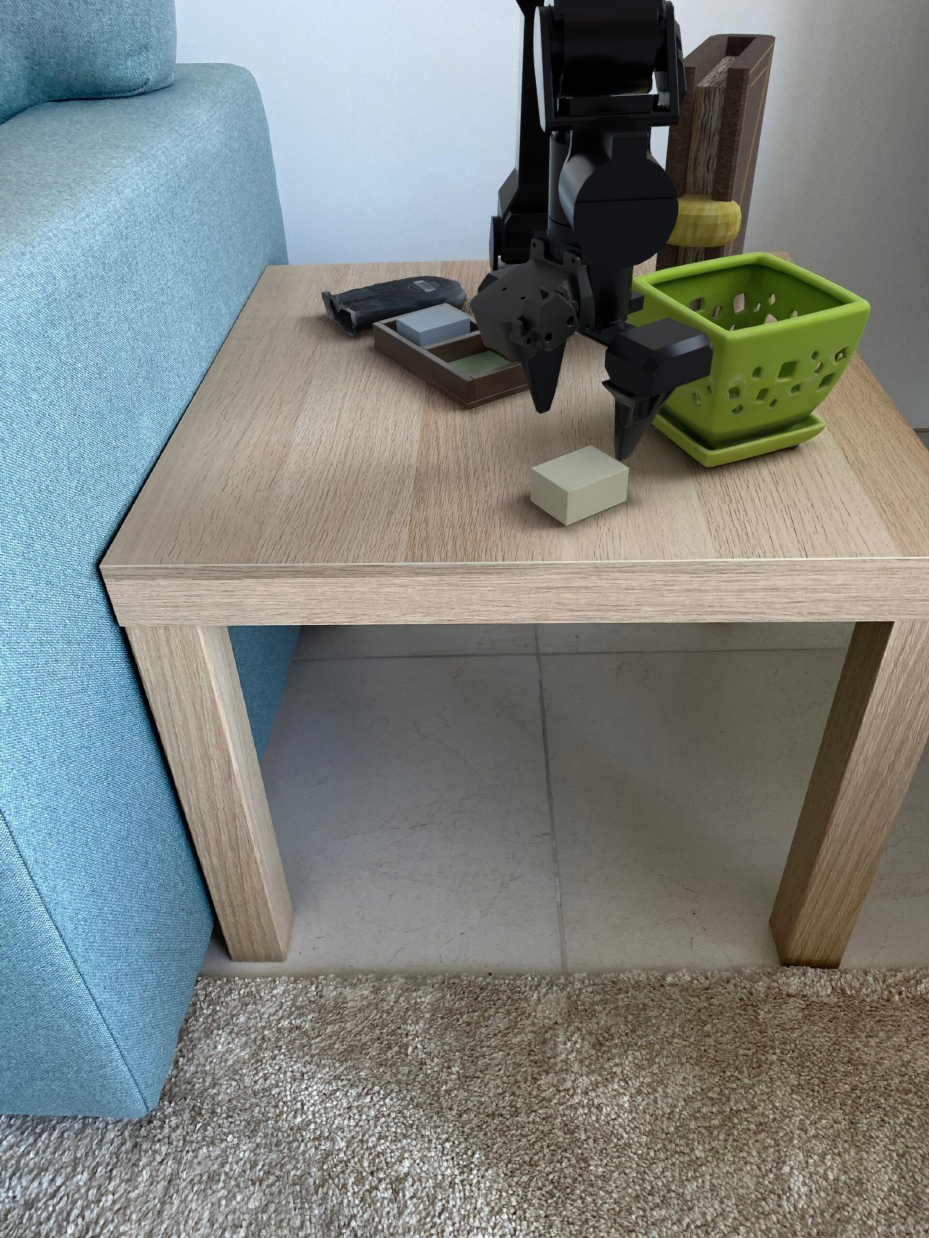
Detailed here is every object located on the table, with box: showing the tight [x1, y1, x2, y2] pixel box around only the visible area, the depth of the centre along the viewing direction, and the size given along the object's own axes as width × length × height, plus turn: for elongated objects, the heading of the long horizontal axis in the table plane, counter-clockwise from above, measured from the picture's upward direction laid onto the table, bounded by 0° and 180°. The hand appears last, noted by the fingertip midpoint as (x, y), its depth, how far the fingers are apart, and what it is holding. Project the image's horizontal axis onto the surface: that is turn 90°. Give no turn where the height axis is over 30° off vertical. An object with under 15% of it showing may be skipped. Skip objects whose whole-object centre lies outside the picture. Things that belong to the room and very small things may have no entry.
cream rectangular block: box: [530, 444, 630, 527], centre depth 72 cm, size 6×4×3 cm
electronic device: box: [321, 275, 469, 337], centre depth 103 cm, size 9×6×15 cm
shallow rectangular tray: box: [372, 303, 529, 410], centre depth 93 cm, size 9×17×3 cm, turn 34°
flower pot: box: [628, 251, 871, 469], centre depth 77 cm, size 14×14×13 cm
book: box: [654, 33, 776, 317], centre depth 93 cm, size 22×8×25 cm, turn 159°
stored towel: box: [396, 305, 470, 348], centre depth 95 cm, size 6×4×3 cm
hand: (581, 434), depth 70 cm, fingers open, 9 cm apart
